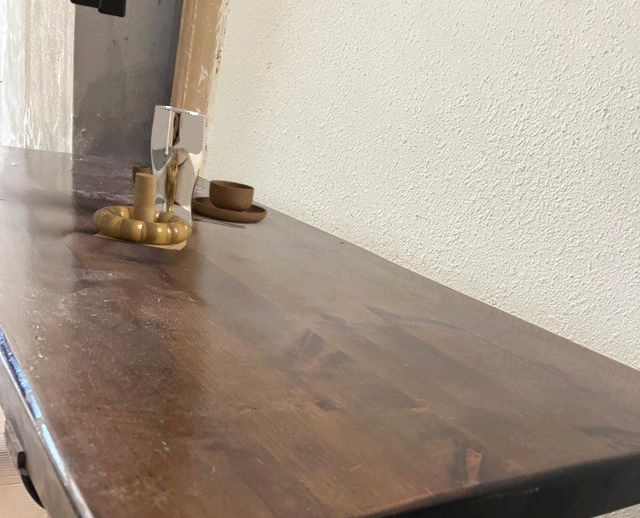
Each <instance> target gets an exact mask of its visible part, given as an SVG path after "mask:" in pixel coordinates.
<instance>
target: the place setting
mask: <svg viewBox="0 0 640 518" xmlns="http://www.w3.org/2000/svg"><path fill="white" fill-rule="evenodd" d="M136 173H146V174H151V167H149V166H146V165H140V164H139V165H138V164H133V165H132V182H133V184H134V185H135V180H136ZM254 193H255V187H254V186H251V185H249V184H245V183H241V182H234V181H229V180H220V179H212V180H210V181H209V187H208V196H195V197H194V196H193V199H192V208H193V209H194V210H195V211H197V212H198V213H199V214H201V215H202V216H206V217H198V216H195V215H193V214H192V218H193V219H194V220H196V221H202V220H205V221H211V222H215V223H220V224H223V225H229V226H233V227H238V228H247V226H245V225H239V224H234V223H240V224H241V223H244V224H253V223H258V222H261V221H263V220H264V219H265V218H266V216H267V213H268V210H267V209H266V208H264V207H262V206H259V205H256V204H254V203H253V201H254ZM128 206H132V207H134V203H130V204H129V205H128ZM207 217H208V218H207ZM229 222H231V223H229ZM232 222H233V223H232Z"/></svg>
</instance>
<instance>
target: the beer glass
mask: <svg viewBox="0 0 640 518" xmlns="http://www.w3.org/2000/svg"><path fill="white" fill-rule="evenodd" d="M154 106H155V108H154V115H153V120H152V128H151V137H150V138H151V140H150V159H151V171H152V175H155V176H157V185H156V198H155V210H160V211H164V212H168V213H171V214H174V215H178V216H180V217H182V218H183V219H185V220H186V221H187V222H189V224H190V225H191V228H192V229H193V226H194V220H193V218H192V215H193V205H192V199H193V198H194V192H195V189H196V185H197V181H198V178H199V173H200V170H201V166H202V162H203V156H204V151H205V150H204V148H205V136H206V134H205V133H206V113H204V112H200V111H196V110H191V109H185V108H180V107H175V106H168V105H160V104H157V105H154Z"/></svg>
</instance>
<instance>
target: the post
mask: <svg viewBox="0 0 640 518" xmlns="http://www.w3.org/2000/svg"><path fill="white" fill-rule="evenodd" d="M156 185H157V176H155V175H153V174H151V173H150V174H146V173H136V180H135V184H134V195H133V196H134V198H133V204H134V210H133V220H138V221H143V222H154V211H155V198H156ZM93 237H99V238H103V239H109V240H115V241H121V242H126V243H132V244H137V245H143V246H149V247H154V248H160V249H166V250H171V251H172V250H177V251H182V249H184V247H186V246H187V239H186V240H185V241H184V242H182V243H177V244H166V245H162V244H147V243H139V242H133V241H128V240H122V239H119V238H116V237H113V236H110V235H107V234H104V233H102V232H101V231H99V232H97V233H95V234H93Z"/></svg>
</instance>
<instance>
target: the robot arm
mask: <svg viewBox="0 0 640 518" xmlns="http://www.w3.org/2000/svg"><path fill="white" fill-rule="evenodd" d="M69 1H70V3H71V4H74V5H77V6H83V7H88V8H92V9H97V11H98V13H100V14H102V15H107V16H113V17H118V18H125V17H126V13H127V0H69Z"/></svg>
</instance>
